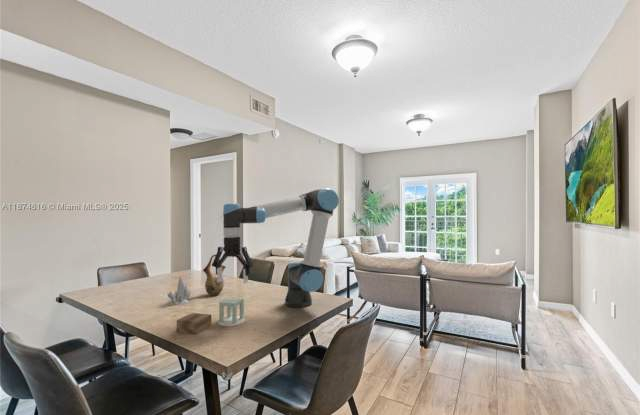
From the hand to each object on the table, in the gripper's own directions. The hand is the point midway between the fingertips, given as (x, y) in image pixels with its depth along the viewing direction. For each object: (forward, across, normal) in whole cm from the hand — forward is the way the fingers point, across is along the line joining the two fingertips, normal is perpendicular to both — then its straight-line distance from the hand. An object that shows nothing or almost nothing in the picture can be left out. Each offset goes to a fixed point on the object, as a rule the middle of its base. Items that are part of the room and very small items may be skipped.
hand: (232, 282), depth 143 cm
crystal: (+18, +46, -18) cm, 52 cm away
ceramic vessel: (+18, +36, -38) cm, 56 cm away
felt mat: (+18, 0, 0) cm, 18 cm away
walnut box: (+18, +12, +12) cm, 25 cm away
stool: (+18, 0, 0) cm, 18 cm away
